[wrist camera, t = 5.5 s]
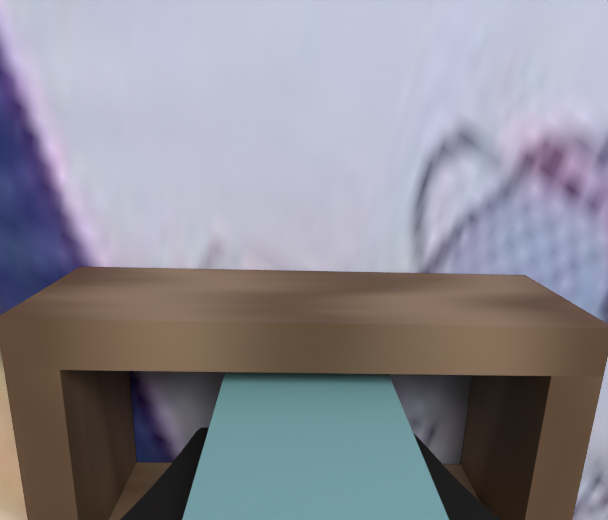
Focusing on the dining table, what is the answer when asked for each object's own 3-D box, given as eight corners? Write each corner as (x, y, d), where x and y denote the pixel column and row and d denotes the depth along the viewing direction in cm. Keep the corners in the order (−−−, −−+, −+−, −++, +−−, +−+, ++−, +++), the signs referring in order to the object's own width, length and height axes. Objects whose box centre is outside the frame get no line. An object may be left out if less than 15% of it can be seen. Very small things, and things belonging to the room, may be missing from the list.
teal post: (372, 334, 14) (477, 589, 6) (364, 451, 15) (445, 799, 7) (236, 332, 13) (161, 589, 6) (237, 449, 14) (175, 805, 7)
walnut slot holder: (525, 275, 14) (613, 327, 10) (490, 493, 16) (553, 606, 12) (80, 266, 14) (-5, 318, 10) (103, 491, 16) (41, 608, 12)
